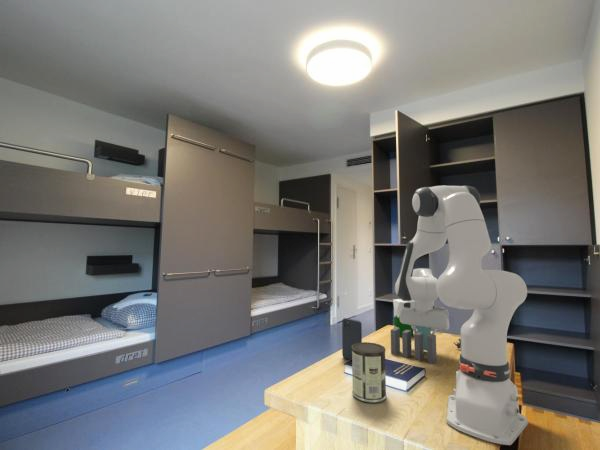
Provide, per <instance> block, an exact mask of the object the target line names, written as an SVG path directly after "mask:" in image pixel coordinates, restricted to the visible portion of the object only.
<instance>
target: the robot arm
mask: <svg viewBox="0 0 600 450" xmlns="http://www.w3.org/2000/svg"><path fill="white" fill-rule="evenodd" d="M411 201H412V202H411V204H412V205H411V206H412V210H413V212H414V213H415V215H417V216H418V219H417V227H416V233H415V235H414V237H412V239H410V240H409V241H408V242H407V244H406V246H405V249H404V253H403V256H402V260H401V265H400V267H399V269H400V270H399V272H398V276H397V279H396V281H395V284H394V291H395V295H396V296H397V298H398V299H401V300H403V301H406V302H403V303H402V307H403V308H402V309H401V311H400V322H401V323H402V324H408V325H411V327H412V329H413V334H416V333H417V326H421V327H427V328H431V331H432V332H431V334H433V335H436V332H437V331H438V330H440V331H447V330H449V328H450V322H449V321H450V320H449V319H450V318H449V317H450V312H449V309H447V308H446V307H449V308H453V309H459V310H473V312H472V314H471V316H470V318H469V319H468V320H466V321H465V322H464V323H463V324H462V325H461V328H460V330H459V331H460V339H461V348H460V353H459V358H458V359H459V360H458V363H459V365H458V366H459V367H458V370H457V371H455V382H456V385H455V388H453V389H452V394H450V395H448V399H447V409H446V424H448V425H449V426H451V427H452V428H454V429H456V430H458V431H460V432H463V433H464V434H467V435H470V436H473V437H475V438H478V439H481V440H484V441H486V442H490V443H494V444H499V445H503V446H504V445H505V446H512V444H513V443H514V442H515V441H516V440H517V438H519V436H520V435H521V433H522V432H523V431H524V430H525V428H526V427H527V426H528V425H529V419H528V418H527V417H526V416H525V415H523V414H521V413H520V406H519V405H520V404H519V395H518V388H517V387H518V386H517V385H515V384H514V383H513V381H511V379H510V377H511V367H510V363H509V361H508V351H507V348H508V347H507V345H508V341H507V340H508V339H507V338H508V336H507V335H508V330H509V327H510V322H511V320H512V317H513V316H514V313H515V312H516V310H517V308H518V307H519V306H521V305H522V304H523V303H524V302H525V300H526V298H527V297H528V287H527V285H526V282H525V280H524V279H523V278H522V277H521V276H520V275H518V274H517V273H514V272H510V271H508V270H507V271H506V270H502V269H483V267H482V262H483V261H482V259H483V257H484V256H485V255H486V254H488V253H489V252H490V250H491V248H492V242H491V241H492V240H491V238H490V234H489V231H488V228H487V224H486V220H485V218H484V217H485V216H484V215H483V212H482V210H481V207H480V205H481V195H480V193H479V191H478V190H477V188H476V187H474V186H470V185H443V184H442V185H434V186H424V187H420V188H417V189H416V190H415V192H414V193H413V195H412V199H411ZM446 242H447V245H448V250H449V251H448V252H449V257H448V262H447V266H446V268H445V270H443V272H442V273H441V274H440V275H439V276H438V278H437V277H435V276H434V275H433V272H432V269H430V268H429V267H417V268H414V264H415V262H416V260H417V259H419V258H420V257H422V256H424V255H427V254H430V253H434V252H436V251H439V250H440V249H442V248H443V247H444V246H445V244H446ZM411 275H412V276H411ZM435 301H440V302H441V303H442V304H443V305H444V306H446V307H443V306H436V305H435ZM429 335H430V334H429Z"/></svg>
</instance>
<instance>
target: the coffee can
mask: <svg viewBox="0 0 600 450" xmlns="http://www.w3.org/2000/svg"><path fill="white" fill-rule="evenodd" d="M351 366H352V368H351V369H352V371H351V372H352V377H351V378H352V379H351V381H352V395H353V397H355V398H356V399H357V400H360V401H362V402H365V403H380V402H383V401H384V400H386V398H387V392H386V391H387V388H386V383H387V381H386V378H387V377H386V347H385V346H383V345H381V344H379V343H375V342H367V341H366V342H364V341H363V342H361V343H356V344H353V345H352V361H351Z"/></svg>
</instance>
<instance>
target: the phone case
mask: <svg viewBox="0 0 600 450" xmlns="http://www.w3.org/2000/svg"><path fill="white" fill-rule="evenodd" d="M341 322H342V323H341V324H342V325H341V326H342V327H341V328H342V329H341V331H342V335H341V337H342V339H341V340H342V343H341V345H342V349H341V350H342V351H341V353H342V357H343V359H345V360H349V361H351V360H352V345H353V344H356V343H361V342H362V341H363V339H362V335H363V333H362V328H363V327H362V322H361V321H360V320H356V319H352V318H347V317H345V318H343V319H342V320H341Z"/></svg>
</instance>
